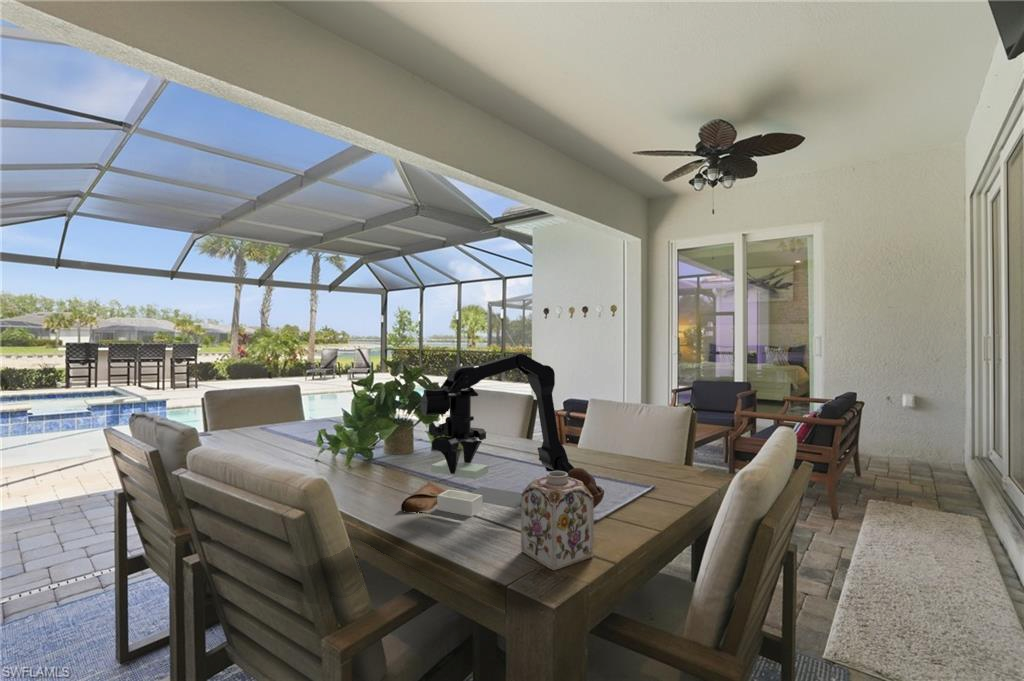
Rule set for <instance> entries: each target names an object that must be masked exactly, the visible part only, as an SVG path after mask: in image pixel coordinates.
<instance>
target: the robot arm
mask: <svg viewBox="0 0 1024 681" xmlns="http://www.w3.org/2000/svg"><path fill="white" fill-rule="evenodd" d="M515 369H518V371H520V373H522V374H524V375H525V376H526V378H527V380H528V383H529V385H530V388H531V389H532V392H534V394H535V398H536V404H537V411H538V416H539V417H538V418H539V423H540V429H541V434H542V445H541V446H540V447H537V451H538V456H539V457H538V461H540V462H541V464H542V465H543V466H544V467H545V471H546V472H547V473H548V472H551V471H564V472H566V473H568V472H569V471H570V470H572V469H574V468H575V466H573V465H572V464H571V463H570V462H569V458H568V455H567V451H566V449H565V447H564V446H563V444H562V443H561V441H560V438H559V437H560V436H559V429H558V423H557V416H556V410H555V404H554V398H553V392H554V388H555V385H556V381H555V380H556V377H555V376H556V375H555V370H554V368H553V367H551V366H550V365H547V364H546V365H545V364H542V363H541V362H538V361H536V360H535V359H533V358H531V357H530V356H527V354H525V353H521V352H514V353H511V354H510V355H507V356H504V357H500V358H497V359H493V360H490V361H487V362H482V363H480V364H473V365H472V364H471V365H458V366H457V365H456V366H453V367H451V368H450V369H449V371H448V372H447V376H446V379H445V381H444V382H443V383H442V385H441V386H440V387H439V389H429V388H427V389H423V394H422V397H421V400H420V410H421V413H422V415H423V416H425V417H426V416H439V415H446V413H447V412H449V416H446V417H445V422H443V423H441V424H440V423H438V422H437V421H436V422H435V421H434V422H431V423H429V424H428V434H429V436H432V437H433V440H431V450H433V451H438V452H440V453H442V455H443V456H444V460H445V459H446V461H447V464H448V467H449V470H450V473H451V474H454V473H455V471H456V467H457V463H458V461H459V458H460V455H461V451H462V449H463V451H462V452H463V462H467V463H472V461H473V460H474V457H475V454H476V452H477V450H478V449H479V447H480V445H481V444H482V441H483V440H486V439H487V431H486V430H485V429H484V428H478V427H473V426H471V425H472V423H471V422H472V421H474V418H475V417H474V415H472V413H471V411H472V410H471V409H472V408H471V405H472V404H471V403H472V400H471V399H472V397H478V396H479V393H478V392H477V391H475V389H474V388H473V386H475V385H477V384H479V383H480V382H481V381H483V380H484V379H486V378H489V377H493V376H496V375H500V374H503V373H506V372H509V371H513V370H515ZM459 444H460V445H461V447H462V449H461V448H459Z"/></svg>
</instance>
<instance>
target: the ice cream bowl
mask: <svg viewBox="0 0 1024 681" xmlns="http://www.w3.org/2000/svg"><path fill="white" fill-rule="evenodd" d="M567 474H568V477H570V478H574V479H576V480H579V481H582V482H583V484H584V485H585V486H586V488H587V489H588V490H589V491H590V493H591V495H592V496H593V509H595V508H596V507H597V506H598V505H599V504H600V503H601V502H602V501H603V499H604V495H605V489H603V488H602V487H601V486H599V485H597V482H596V479H595V478H594V477H593V476H592V475H591V474H590V473H589V472H588V471H587V470H585V469H584V468H582V467H574V469H572V470H570V471H569V472H568V473H567Z"/></svg>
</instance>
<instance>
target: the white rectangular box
mask: <svg viewBox="0 0 1024 681" xmlns="http://www.w3.org/2000/svg"><path fill="white" fill-rule="evenodd" d="M483 503H484V502H483V495H478V494H472V493H470V492H466V491H459V490H453V489H447V490H445V492H443V493H441V494H439V495H437V504H436V506H437V509H436V511H437V510H438V511H443V512H446V513H452V514H457V515H461V516H462V515H463V516H468V517H473V516H475V515H476V514H479V513H480V512H481V511H483V510H484V509H483Z"/></svg>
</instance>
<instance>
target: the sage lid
mask: <svg viewBox="0 0 1024 681" xmlns="http://www.w3.org/2000/svg"><path fill="white" fill-rule="evenodd" d="M430 468H431V470H430V472H431V473H433V474H439V475H445V476H446V475H448V476H452V477H459V478H464V479H471V480H477V479H479V478H481V477H483V476H485V475H487V474H489V465H488V464H480V463H474V462H471V463H467V462H464V461H461V460H460V461H459V460H458V463H457V467H456V471H455V473H454V474H451V473H450V470H449V467H448V464H447V461H446V459H445V458H444V459H443V460H440V461H438V462H435V463H433V464H431V466H430Z"/></svg>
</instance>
